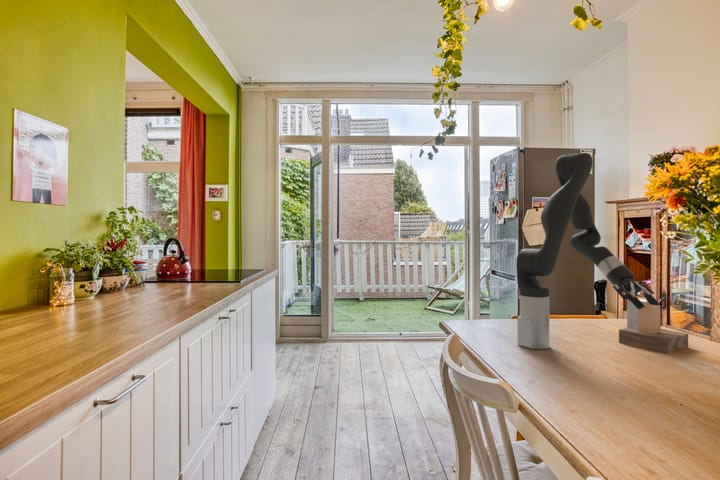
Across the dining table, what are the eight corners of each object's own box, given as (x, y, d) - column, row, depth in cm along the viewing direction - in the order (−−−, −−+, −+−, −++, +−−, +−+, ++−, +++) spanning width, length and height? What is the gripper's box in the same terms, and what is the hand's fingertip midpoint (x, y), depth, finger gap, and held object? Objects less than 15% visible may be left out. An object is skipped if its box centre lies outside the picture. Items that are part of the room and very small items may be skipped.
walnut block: (667, 355, 115) (667, 339, 115) (619, 343, 128) (619, 329, 128) (688, 348, 122) (688, 334, 122) (640, 338, 134) (640, 325, 134)
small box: (647, 336, 135) (647, 301, 135) (626, 333, 140) (626, 299, 140) (651, 333, 141) (650, 299, 141) (630, 330, 145) (630, 297, 145)
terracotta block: (652, 333, 122) (651, 307, 122) (637, 330, 126) (637, 304, 126) (660, 332, 124) (660, 305, 124) (646, 329, 128) (645, 303, 128)
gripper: (609, 264, 130) (645, 301, 120) (634, 263, 136) (671, 299, 125) (595, 278, 135) (628, 314, 125) (620, 276, 141) (653, 311, 130)
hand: (649, 306), depth 125 cm, fingers open, 8 cm apart
